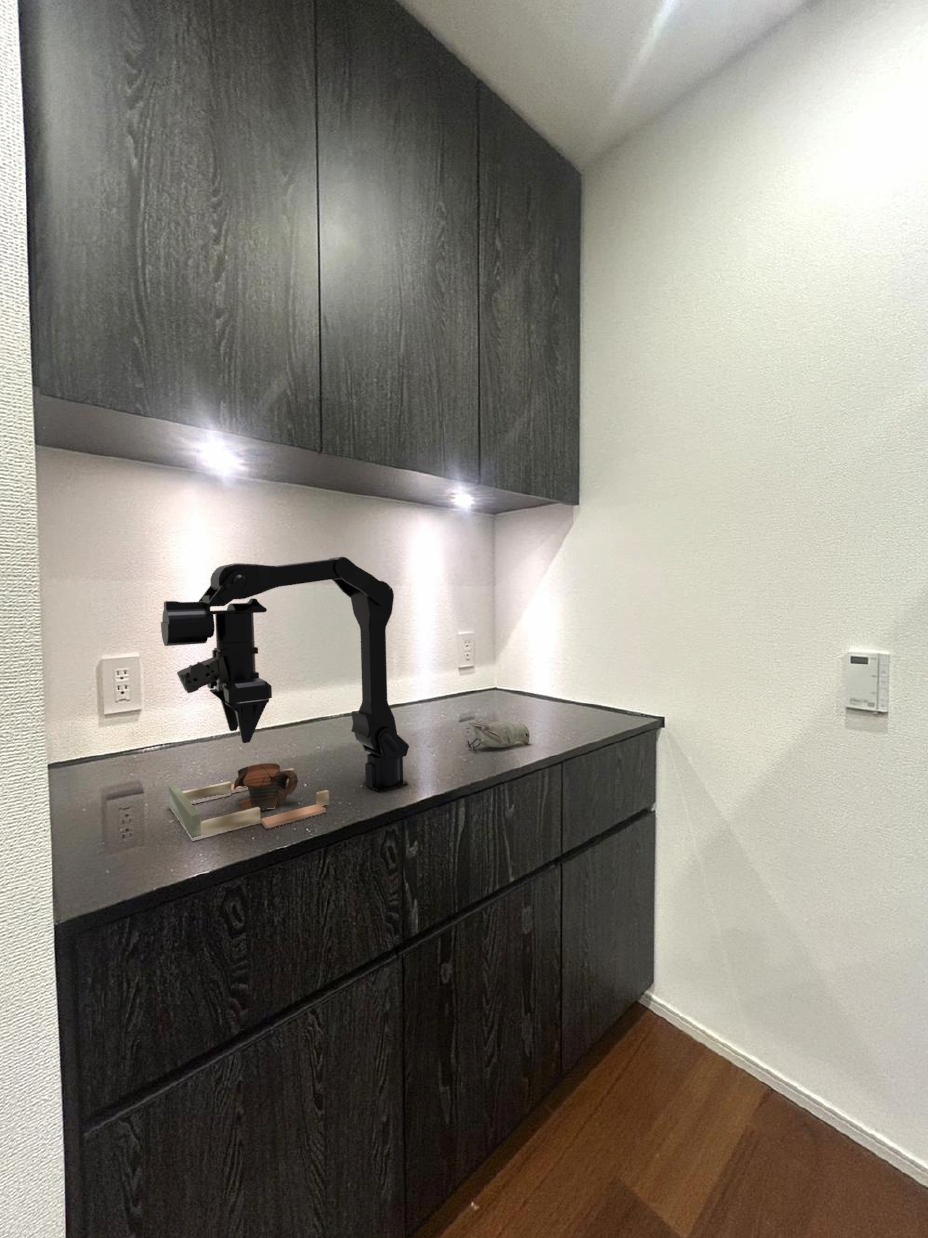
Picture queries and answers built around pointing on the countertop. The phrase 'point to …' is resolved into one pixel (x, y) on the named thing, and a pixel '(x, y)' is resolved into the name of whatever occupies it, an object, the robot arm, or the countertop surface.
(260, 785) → the pottery mug
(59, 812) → the countertop surface
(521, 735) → the decorative bird
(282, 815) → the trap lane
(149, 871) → the countertop surface
